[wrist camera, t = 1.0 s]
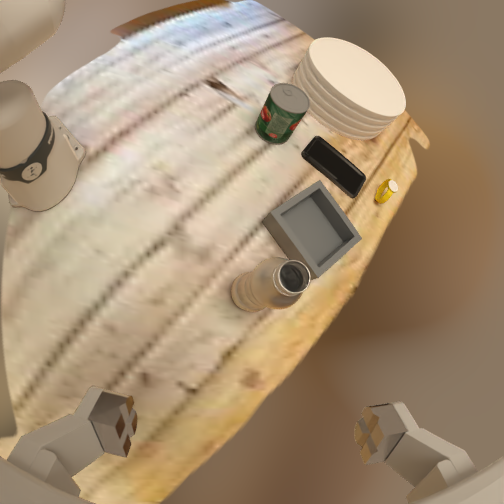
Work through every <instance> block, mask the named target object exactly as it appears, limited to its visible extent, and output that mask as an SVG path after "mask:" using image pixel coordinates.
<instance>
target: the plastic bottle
mask: <svg viewBox="0 0 504 504" xmlns="http://www.w3.org/2000/svg"><path fill="white" fill-rule="evenodd" d="M310 280H311V277H310V272H309V270H308V268H307V267H306V265H305V264H303V263H302V262H300V261H297V260H288V259H284V258H280V257H272V258H268V259H265V260H264V261H262V262H261V263H260V264H259V265H258V266H256V268H255V269H254V271H253V272H246V273H243V274H241V275H239V276H238V277H237V278H236V279H235V281H234V282H233V285H232V289H231V295H232V299H233V301H234V302H235V304H236V305H237V306H238V307H240V308H241V309H243V310H245V311H248V312H257V311H260V310H262V309H264V308H265V307H268V308H271V309H285V308H288V307H290V306H292V305H293V304H295V303H296V302H297V301H298V299H299V298H300V297H301V295H302V293H303V291H305V290H306V289H307V288H308V286H309V284H310Z"/></svg>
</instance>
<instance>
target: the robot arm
mask: <svg viewBox="0 0 504 504" xmlns="http://www.w3.org/2000/svg"><path fill="white" fill-rule="evenodd" d="M64 12H65V0H0V73H2V72H3V71H5V70H6V69H8V68H9V67H11V66H12V65H14V64H15V63H17V62H18V61H20V60H21V59H23V58H25V57H26V56H27V55H29V54H30V53H31V52H32V51H34V50H35V49H36V48H38V47H39V46H40V45H42V44H43V43H44V42H46V41H47V40H48V39H49V38H51V37H52V36H53V35H55V33H56V32H57V30H58V28H59V26H60V24H61V22H62V19H63V16H64ZM76 149H78V150H76ZM75 150H76V151H75ZM85 154H86V151H85V149H84V148H83V147H82V146H81V144H80V143H79V142H78V141H77V140H76V139H75V138H74V136H73V135H72V134H71V133H70V132H69V131H68V130H67V128H66V127H65V126H64V125H63V124H62V123H61V121H60V120H59V119H58V118H57V117H56V116H50V117H48V116H47V115H46V114H45V113H44V112H43V111H42V110H41V108H40V106H39V104H38V102H37V100H36V98H35V95H34V93H33V91H32V89H31V88H30V87H29V86H28V85H26V84H25V83H23V82H20V81H17V80H8V81H3V82H0V178H1V181H0V183H1V185H2V186H3V188H4V189H5V190H6V191H7V192H8V194H9V203H10V204H11V205H12V206H13V207H20V206H23V207H25V208H27V209H29V210H32V211H43V210H47V209H49V208H51V207H53V206H55V205H56V204H58V203H59V202H60V201H61V200H62V199H63V198H64V197H65V196H66V195H67V194H68V193H69V191H70V190H71V188H72V186H73V184H74V182H75V180H76V176H77V172H78V167H79V164H80V163H81V161H82V160H83V158H84V156H85ZM133 405H134V401H133V397H132V396H130V395H126V394H122V393H118V392H114V391H111V390H107V389H103V388H99V387H96V386H92V387H90V388H89V390H88V391H87V393H86V395H85V396H84V398H83V399H82V401H81V403H80V405H79V406H78V408H77V410H76V411H75V413H74V415H71V414H69V415H67V416H65V417H63V418H61V419H58V420H56V421H54V422H52V423H50V424H48V425H46V426H43V427H41V428H39V429H37V430H34V431H32V432H30V433H28V434H25V435H23V436H21V438H20V439H19V441H18V443H17V444H16V446H15V447H14V449H13V451H12V452H11V454H10V455H9V457H8V459H7V460H5V459H4V458H2V457H1V456H0V504H95V503H93V502H90V501H87V500H85V499H82V498H79V494H80V491H81V490H80V488H79V486H78V485H77V484H76V483H75V481H74V480H73V479H72V477H73V476H74V475H75V474H77V473H78V472H80V471H81V470H82V469H84V468H85V467H87V466H88V465H89V464H91V463H92V462H93V461H95V460H96V459H97V458H99V457H100V456H101V455H103V454H104V452H106V453H110V454H114V455H118V456H122V457H126V458H127V455H128V452H129V449H130V446H131V442H130V437H132V436H133V435H134V434H135V431H136V427H137V413H136V411H135V410H134V409H133V408H132V407H133ZM362 416H363V418H361V419H360V420H359V421H357V424H356V426H355V431H354V435H355V440H356V443H357V444H358V445H360V446H361V447H362V449H361V451H360V453H361V456H362V459H363V461H364V464H365V465H368V464H373V463H378V462H383V461H385V463H386V464H387V465H388V466H390V467H391V468H392V469H393V470H394V471H396V472H397V473H398V474H399V475H400V476H402V477H403V478H404V479H405V480H406V481H408V482H409V483H410V484H412V485H413V486H414V487H415V488H414V489H413V490H412V491H411V492H410V493H409V494H408V495H407V496H406V499H407V501H408V504H504V456H503V457H501V458H500V459H498V460H497V461H495V462H494V463H492V464H490V465H489V466H487V467H485V468H484V469H482V470H480V471H477V469H476V467H475V466H474V464H473V463H472V461H471V459H470V458H469V456H468V455H467V453H466V452H465V451H464V450H462V449H461V448H459V447H456V446H454V445H453V444H451V443H449V442H447V441H445V440H443V439H441V438H439V437H438V436H436V435H434V434H432V433H430V432H429V431H426V430H425V429H423V428H421V429H419V427H418V426H417V424H416V422H415V421H414V419H413V417H412V416H411V414H410V412H409V411H408V410H407V408H406V406H405V404H404V403H403V402H401V401H400V402H394V403H387V404H381V405H374V406H367V407H365V408H364V410H363V412H362Z"/></svg>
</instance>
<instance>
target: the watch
mask: <svg viewBox="0 0 504 504" xmlns="http://www.w3.org/2000/svg"><path fill="white" fill-rule="evenodd" d="M386 187H388V190H387V192H386V193H385V194H384V195H383V196H382V197H381V195H382V192H383V191H384V190H385V188H386ZM397 190H398V186H397V184H396V182H395V181H393V180H391V179H387V180H385V181H384V182H383V183H382V184H381V185H380V187H379V188H378V190H377V193H376V196H375V200H376V201H377V202H379V203H380V204H381V203H384V202H386V201H387V200H388V199H389V198H390V197H391V196H392V194H393V193H395V192H397Z"/></svg>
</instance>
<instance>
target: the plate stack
mask: <svg viewBox="0 0 504 504" xmlns="http://www.w3.org/2000/svg"><path fill="white" fill-rule="evenodd" d="M292 84H293V85H294V86H296V87H298V88H300V89H301V90H303V91H304V92H305V93H306V95H307V96H308V98H309V100H310V107H309V109H308V110H307V112H308V113H309V114H310V115H311V116H312V117H313V118H315V119H316V120H317V121H318V122H319V123H321V124H322V125H324V126H325V127H326V128H328V129H330V130H331V131H333V132H335V133H337V134H339V135H341V136H344V137H347V138H350V139H354V140H370V139H373V138H375V137H376V136H377V135H378V134H380V133H381V132H382V131H383V130H384V129H385V128H386V127H387V126H388V125H389V124H391V122H393V121H394V120H395V119H396V118H397V117H398V116H399V115H401V114H402V113H403V111H404V110H405V107H406V99H405V95H404V92H403V90H402V88H401V86H400V84H399V82H398V81H397V79H396V78H395V77H394V75H393V74H392V73H391V72H390V71H389V70H388V68H387V67H386V66H385V65H383V64H382V63H381V62H380V61H379V60H378V59H377V58H375V57H374V56H373V55H371V54H370V53H368V52H367V51H365V50H364V49H362V48H360V47H358V46H356V45H354V44H352V43H350V42H347V41H344V40H341V39H336V38H319V39H316V40H314V41H313V42H312V43H311V45H310V46H309V48H308V50H307V52H306V53H305V55H304V57H303V59H302V61H301V63H300V64H299V66H298V68H297V70H296V72H295V73H294V76H293V80H292Z"/></svg>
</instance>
